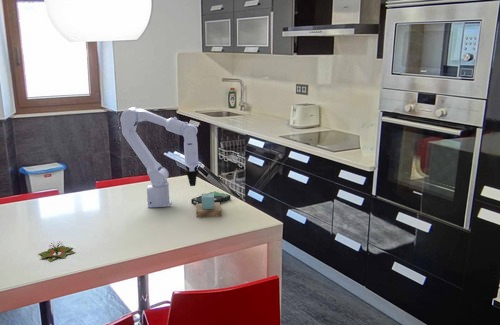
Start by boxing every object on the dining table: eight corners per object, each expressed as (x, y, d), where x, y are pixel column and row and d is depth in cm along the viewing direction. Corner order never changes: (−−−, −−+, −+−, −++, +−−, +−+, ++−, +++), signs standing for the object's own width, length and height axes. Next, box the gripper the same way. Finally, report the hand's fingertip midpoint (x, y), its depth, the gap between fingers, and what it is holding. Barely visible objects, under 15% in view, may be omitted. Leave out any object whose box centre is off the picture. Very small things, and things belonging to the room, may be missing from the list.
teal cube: (202, 209, 185) (201, 197, 184) (202, 205, 190) (201, 193, 189) (214, 208, 186) (214, 197, 185) (214, 204, 191) (213, 193, 190)
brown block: (196, 218, 184) (196, 211, 183) (196, 210, 193) (196, 203, 193) (221, 217, 185) (221, 210, 184) (220, 208, 195) (219, 202, 194)
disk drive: (207, 209, 194) (231, 200, 205) (207, 203, 193) (230, 194, 204) (191, 205, 200) (214, 196, 211) (190, 199, 200) (214, 190, 211)
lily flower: (65, 244, 161) (64, 232, 160) (83, 254, 153) (81, 241, 152) (31, 256, 152) (29, 243, 151) (47, 266, 145) (45, 253, 144)
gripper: (201, 156, 188) (202, 187, 191) (200, 148, 202) (201, 178, 205) (183, 156, 187) (185, 188, 190) (184, 149, 201) (185, 179, 204)
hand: (192, 183), depth 198 cm, fingers open, 7 cm apart
